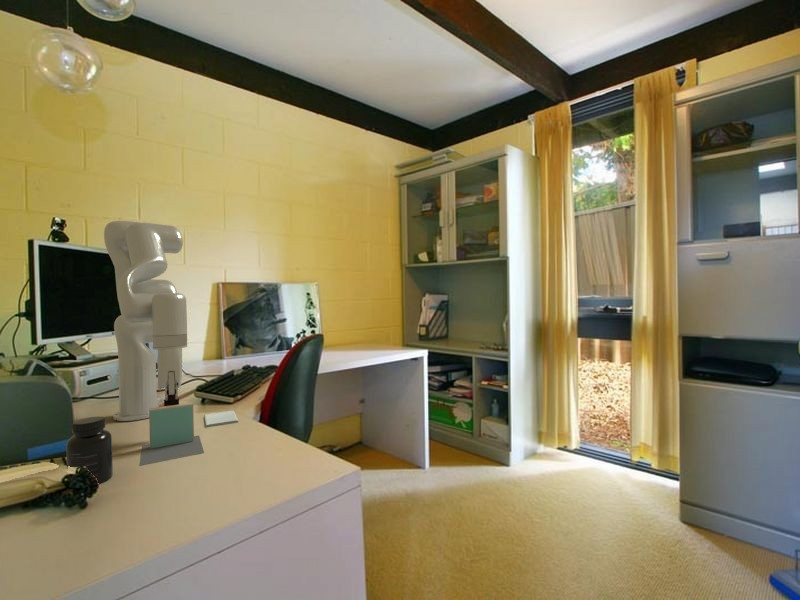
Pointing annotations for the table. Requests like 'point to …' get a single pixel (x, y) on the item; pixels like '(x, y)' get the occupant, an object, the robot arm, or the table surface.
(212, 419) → the hard drive
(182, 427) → the tile
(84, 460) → the supplement bottle
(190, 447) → the mat
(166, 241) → the robot arm
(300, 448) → the table surface
